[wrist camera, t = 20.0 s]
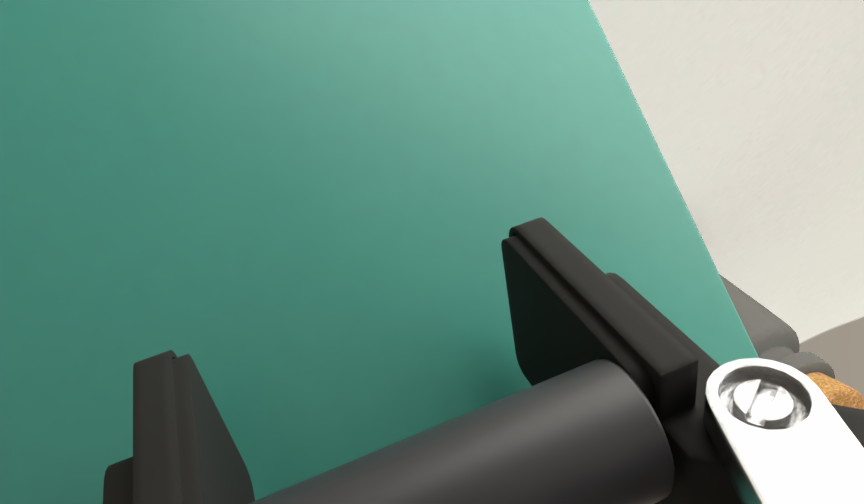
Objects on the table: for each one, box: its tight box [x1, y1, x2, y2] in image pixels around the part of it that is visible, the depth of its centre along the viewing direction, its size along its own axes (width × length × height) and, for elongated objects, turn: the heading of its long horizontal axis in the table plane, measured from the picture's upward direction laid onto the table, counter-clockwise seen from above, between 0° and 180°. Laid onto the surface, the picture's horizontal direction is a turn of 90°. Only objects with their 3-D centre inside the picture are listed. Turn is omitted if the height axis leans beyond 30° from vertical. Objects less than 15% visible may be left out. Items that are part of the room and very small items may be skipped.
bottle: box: [719, 274, 863, 409], centre depth 38 cm, size 6×6×15 cm
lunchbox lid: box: [0, 0, 759, 504], centre depth 11 cm, size 14×15×6 cm
